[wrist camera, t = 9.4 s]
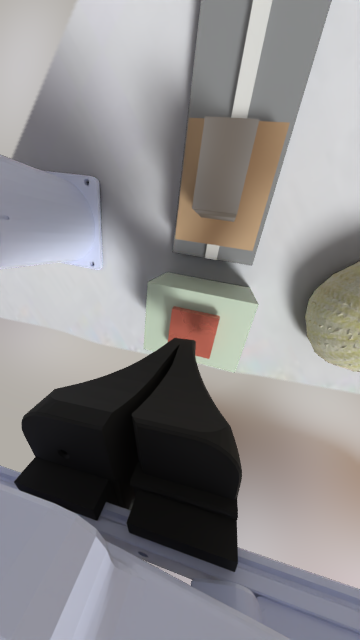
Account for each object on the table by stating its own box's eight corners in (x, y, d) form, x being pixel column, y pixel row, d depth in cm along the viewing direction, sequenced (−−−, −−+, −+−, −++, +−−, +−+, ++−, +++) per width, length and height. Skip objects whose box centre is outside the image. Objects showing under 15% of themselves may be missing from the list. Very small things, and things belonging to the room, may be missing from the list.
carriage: (177, 239, 15) (157, 237, 11) (191, 126, 12) (171, 60, 8) (250, 250, 14) (261, 254, 10) (284, 132, 11) (323, 59, 7)
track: (174, 251, 17) (171, 252, 16) (222, -155, 9) (222, -210, 8) (250, 264, 16) (252, 266, 15) (384, -186, 8) (409, -253, 7)
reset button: (174, 335, 16) (166, 348, 14) (179, 299, 15) (171, 308, 13) (211, 344, 16) (209, 359, 14) (220, 308, 14) (219, 319, 12)
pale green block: (161, 325, 20) (143, 348, 16) (167, 272, 18) (147, 282, 13) (232, 342, 19) (234, 372, 15) (249, 287, 17) (258, 304, 12)
